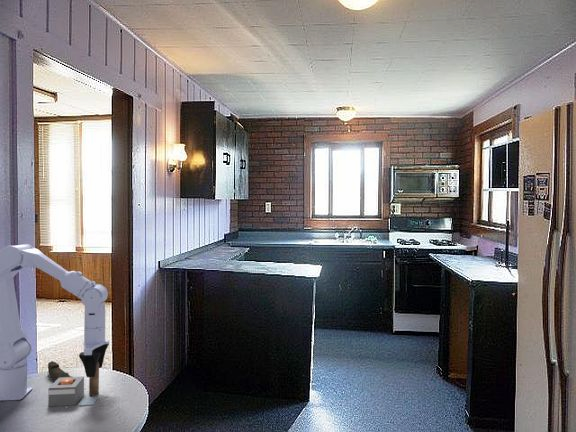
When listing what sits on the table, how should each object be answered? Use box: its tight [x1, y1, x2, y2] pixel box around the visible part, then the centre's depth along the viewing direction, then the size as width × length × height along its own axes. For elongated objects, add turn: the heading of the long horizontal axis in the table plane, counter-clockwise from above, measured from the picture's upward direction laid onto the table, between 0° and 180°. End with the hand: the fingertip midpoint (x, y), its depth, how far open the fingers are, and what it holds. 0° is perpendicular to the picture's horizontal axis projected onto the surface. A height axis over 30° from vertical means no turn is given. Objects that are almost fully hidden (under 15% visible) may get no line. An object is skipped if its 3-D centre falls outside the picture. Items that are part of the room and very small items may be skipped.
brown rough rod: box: [47, 360, 73, 382], centre depth 141 cm, size 19×4×5 cm, turn 42°
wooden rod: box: [88, 362, 100, 396], centre depth 131 cm, size 3×3×9 cm
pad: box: [77, 396, 99, 407], centre depth 125 cm, size 4×5×1 cm
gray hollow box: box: [47, 376, 85, 407], centre depth 126 cm, size 7×8×5 cm
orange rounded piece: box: [61, 378, 73, 385], centre depth 126 cm, size 3×3×2 cm
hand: (94, 372), depth 131 cm, fingers open, 7 cm apart
